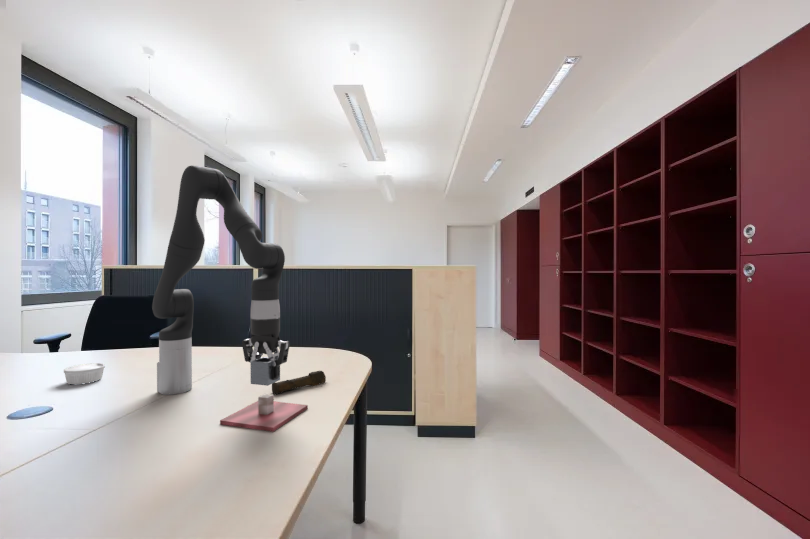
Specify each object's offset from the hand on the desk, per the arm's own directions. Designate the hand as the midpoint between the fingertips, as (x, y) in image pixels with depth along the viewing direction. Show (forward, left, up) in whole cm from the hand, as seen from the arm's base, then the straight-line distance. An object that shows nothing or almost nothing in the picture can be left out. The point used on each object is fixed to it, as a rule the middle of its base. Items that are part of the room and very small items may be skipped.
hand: (265, 378), depth 105 cm
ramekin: (-82, +9, -11) cm, 83 cm away
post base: (0, 0, -10) cm, 10 cm away
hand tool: (-5, +24, -11) cm, 27 cm away
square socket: (0, 0, -1) cm, 1 cm away
